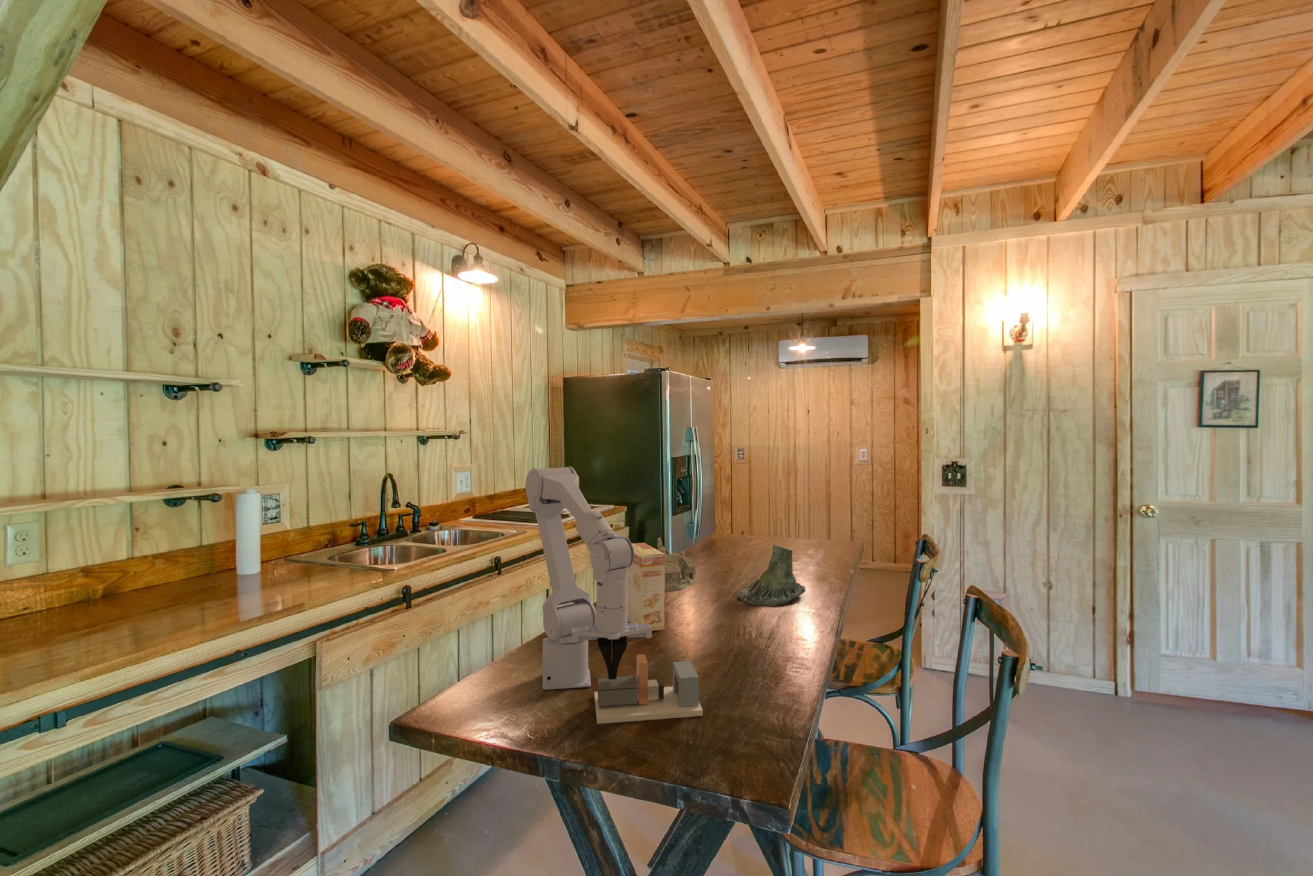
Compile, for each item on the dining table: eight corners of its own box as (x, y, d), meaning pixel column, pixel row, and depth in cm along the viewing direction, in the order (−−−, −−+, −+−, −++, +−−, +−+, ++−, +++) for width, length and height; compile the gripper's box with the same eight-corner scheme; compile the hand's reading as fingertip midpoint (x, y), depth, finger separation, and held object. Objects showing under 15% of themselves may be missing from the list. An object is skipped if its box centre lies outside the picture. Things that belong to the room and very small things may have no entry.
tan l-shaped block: (601, 707, 105) (601, 665, 105) (600, 696, 109) (600, 656, 109) (664, 702, 107) (664, 661, 107) (661, 692, 111) (661, 653, 111)
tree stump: (726, 592, 182) (738, 535, 184) (782, 602, 188) (793, 547, 189) (752, 607, 165) (765, 544, 166) (812, 618, 170) (825, 557, 172)
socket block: (679, 707, 106) (680, 678, 106) (672, 690, 113) (673, 662, 113) (698, 706, 107) (698, 676, 106) (690, 688, 114) (690, 661, 113)
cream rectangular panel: (597, 723, 102) (597, 695, 102) (594, 697, 112) (594, 671, 112) (702, 715, 105) (702, 688, 105) (691, 690, 115) (691, 665, 115)
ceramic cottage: (652, 591, 181) (655, 542, 181) (648, 579, 197) (651, 534, 197) (702, 593, 182) (705, 545, 182) (693, 580, 199) (696, 536, 199)
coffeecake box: (665, 629, 148) (665, 553, 148) (639, 633, 146) (639, 555, 145) (644, 611, 162) (645, 541, 162) (620, 614, 160) (620, 543, 159)
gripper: (572, 613, 102) (572, 689, 103) (654, 609, 104) (654, 684, 105) (571, 600, 109) (572, 672, 109) (648, 597, 111) (648, 667, 112)
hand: (612, 677), depth 108 cm, fingers closed
